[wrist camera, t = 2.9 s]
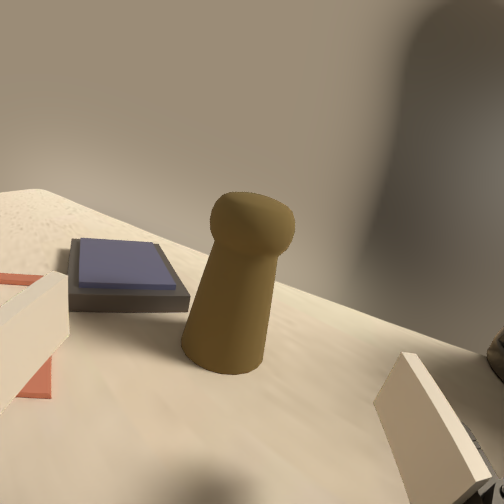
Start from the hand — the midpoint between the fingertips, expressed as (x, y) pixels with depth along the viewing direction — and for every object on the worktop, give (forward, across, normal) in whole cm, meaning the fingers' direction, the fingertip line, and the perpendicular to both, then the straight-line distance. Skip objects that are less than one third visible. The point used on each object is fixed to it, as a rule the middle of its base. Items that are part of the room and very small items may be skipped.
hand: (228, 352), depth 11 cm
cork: (+10, 0, -7) cm, 12 cm away
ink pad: (+16, -11, -7) cm, 21 cm away
